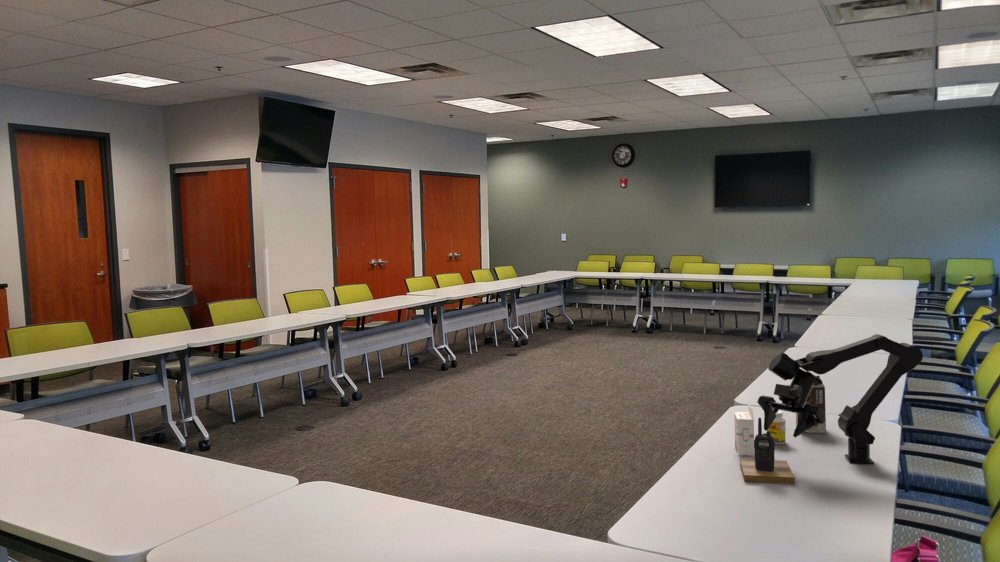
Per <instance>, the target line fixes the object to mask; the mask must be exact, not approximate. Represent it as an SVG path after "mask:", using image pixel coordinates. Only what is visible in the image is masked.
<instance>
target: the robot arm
mask: <svg viewBox="0 0 1000 562" xmlns="http://www.w3.org/2000/svg"><path fill="white" fill-rule="evenodd" d="M881 350H882V351H883V352H884V351H885V352H886V353H889V355H888V356H887V357H888V358H887V362H886V366H885V368H884V369H883V370H882V371H881V373H880V374H879V375H878V376H877V378H876V379H875V381H874V382H873V383H872V384H871V385H870V387H869V389H867V391H866V392H865V393H864V395H863V396H862V397H861V398H860V400H859V401H858V403H857V404H855V405H853V406H849V405H848V404H847V405H845V406H844V408H843V410H842V412H841V413H839V414H837V416H838V419H837V425H838V427H839V429H840V430H841V431H842V432H843V433H844V435H845V436H846V437H847V438H848V439H847V453H846V454H844V457H845V458H846V459H847V461H848V462H849V463H850V464H870V465H871V464H873V465H874V463H875V462H874V460H873V459H872V458H871V454H870V453H871V448H870V447H871V445H873V444H874V443H875V440H876V437H875V436H874V435H873V434H872V432H871V433H870V431H868V429H869V427H870V425H871V421H872V420H871V419H872V416H873V414H874V412H875V411H876V410H877V408H878V407H879V405H880V404H881V403H882V402H883V401H884V399H885V398H886V396H887V395H888V394H889V393H890V392H891V390H892V389H893V388H894V386H895V385H896V384H897V383H898V382H899V380H900V379H901V377H903V376H904V375H905V374H907V373H909V372H911V371H913V370H914V369H915V368H916V367H917V366H918V365H919V364H920V363H922V361H923V359H924V355H923V354H924V353H923V352H922V350H921V349H920V347H919V346H916V345H912V344H909V343H907V342H897V341H895V340H892V339H889V338H888V337H887V336H884V335H882V334H876V333H875V334H873V335H872V336H870V337H866V338H863V339H861V340H858V341H855V342H851V343H849V344H845V345H843V346H839V347H837V348H833V349H822V350H817V351H812V352H808V353H807V354H806V355H805V357H800V358H797V359H795V360H794V359H793V358H791V357H790V356H789V355H788V354H787V353H785V352H784V351H781V352H780V353H779V354H778V355H776V356H775V357H774V358H773V359H771V361H770V362H769V364H768V367H767V368H768V371H770V372H771V373H772V374H774V375H776V376H778V377H779V378H780V379H782V380H783V381H788V380H789V381H791V383H790V384H789V385H787V384H786V385H785V384H779V383H775V386H774V391H773V396H778V400H779V401H781V402H778V401H776V400H775V398H774V397H772V396H768V395H764V394H763V395H760V396H759V397H758V399H757V401H756V403H757V404H758V405H759V406H760V407H761V409H762V410H763V416H764V419H763V430H764V431H766V432H767V430H768V428H769V427H770V425H771V424H772V422H773V421H774V419H775V418H776V416H777V415H776V414H775V413H777V412H778V411H785V412H788V413H793V414H794V413H795V414H796V413H799V414H801V418H800V420H799V422H798V425H797V427H796V426H795V429H794V431H793V434H792V436H793V437H794V438H797V437H799V436H800V435H801V434H802V433H805V432H804V431H806V430H807V429H809V428H811V427H812V426H814V425H818V423H820V424H823V423H824V421H825V414H824V413H823V411H822V410H821V408H820V407H819V406H818V405H812V404H805V402H806V401H808V402H809V400H810V398H809V397H808V396H809V394H810V391H811V389H812V387H813V385H814V386H817V385H820V384H823V385H824V383H823V380H822V379H821V376H820V375H825V374H827V373H828V372H830V371H833V370H834V369H835V368H837V367H838V366H840V365H841V364H842V363H845V362H848V361H852V360H853V359H857V358H860V357H863V356H865V355H870V354H872V353H875V352H877V351H881ZM813 373H814V374H813ZM815 374H817V375H815ZM803 407H804V408H803Z"/></svg>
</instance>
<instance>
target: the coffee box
mask: <svg viewBox="0 0 1000 562" xmlns="http://www.w3.org/2000/svg"><path fill="white" fill-rule="evenodd" d="M808 397H809V398H810V400H809V402H808V401H806V402H805V404H812V405H818V406H819V407H820V408H821V410H822V411H823V413H824V414H825V421H824V423H823V424H820V423H818V425H814V426H812V427H811V428H809V429H807V430H806V431H804V432H803V433H805V432H806V434H807V432H808V434H813V433H814V434H826V433H827V425H826V424H827V421H826V420H827V419H826V417H827V416H826V387H825V384H824V383H823V384H820V385H817V386H814V385H813V387H812V389H811V391H810V394H809V396H808ZM803 408H804V407H803ZM800 418H801V414H799V413H795V428H796V427H797V425H798V422H799V420H800Z"/></svg>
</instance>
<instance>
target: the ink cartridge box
mask: <svg viewBox="0 0 1000 562" xmlns="http://www.w3.org/2000/svg"><path fill="white" fill-rule="evenodd" d="M747 406H748V411H734V413H733V414H734V415H733V416H734V447H736V448H735V449H737V450H736V451H737V455H738V454H739V455H740V456H741V455H747V456H746V457H748V456H749V457H750V456H753V457H755V451H754V440H755V425H754V424H755V423H754V413H753V408H752V406H751V405H750V403H748V405H747ZM739 455H738V456H739Z"/></svg>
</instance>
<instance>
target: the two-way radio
mask: <svg viewBox="0 0 1000 562" xmlns="http://www.w3.org/2000/svg"><path fill="white" fill-rule="evenodd" d="M757 421H758V422H757V434H756V435H754V459H755V468H756V469H757V470H764V471H773V470H774V460H776V459H775V450H776V444H775V442H774V439H773V437H772V436H771V433H770V431H766V433H765V432H764V433H763V431H762V429H763V425H762V418H761V417H758V420H757Z"/></svg>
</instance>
